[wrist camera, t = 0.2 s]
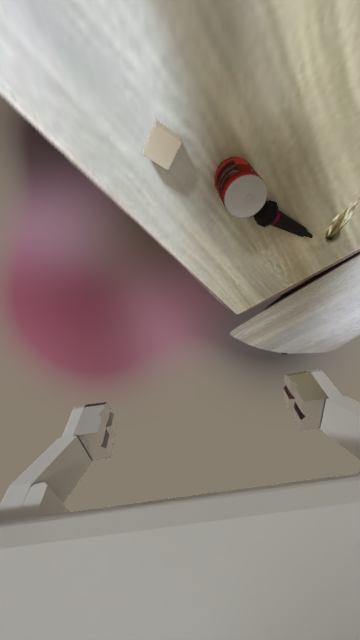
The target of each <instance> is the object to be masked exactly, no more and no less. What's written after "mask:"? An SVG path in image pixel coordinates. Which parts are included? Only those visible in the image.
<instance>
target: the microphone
mask: <svg viewBox="0 0 360 640" xmlns="http://www.w3.org/2000/svg"><path fill="white" fill-rule="evenodd" d="M254 218H255V220H256V221H257V224H258V225H261V226H263V227H265V226H268V225H273V226H275V227H278V228H280V229H283V230H286V231H288V232H291V233H293V234H296V235H298V236H302V237H303V236H306V237H310V238H312V237H313V236H312V235H311V234H310V233H309V232H308V231H307V229H306V228H305V227H303V226H302V225H300V224H299V223H297V222H296V221H294V220H293V219H291V218H289V217H288V216H286V215H285V214H283V213H282V212H280V211H278V206H277V203H276V202H273V201H270V200H269V201H266V202H265V204H264V206H263V207H262V208H261V209H260V210H259V211H258V212H257V213H256V214H254Z"/></svg>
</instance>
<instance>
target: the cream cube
mask: <svg viewBox="0 0 360 640" xmlns="http://www.w3.org/2000/svg"><path fill="white" fill-rule="evenodd" d="M181 144H182V141H181V139H180V136H179V135H178V134H177V133H175V132H174V131H172V130H171V129H170V128H168V127H167V126H165V125H164V124H163V123H161V122H160V121H158V120H157V119H156V118H155V120H154V123H153V125H152V128H151V130H150V132H149V135H148V137H147V140H146V142H145V144H144V147H143V155H144V156H146V157H147V158H149V159H151V160H152V161H154V162H155V163H157V164H158V165H160V166H162V167H163V168H165V169H166V170H169V168H170V166H171V164H172V162H173V160H174V158H175V156H176V154H177V152H178V150H179V148H180V146H181Z"/></svg>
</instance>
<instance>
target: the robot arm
mask: <svg viewBox="0 0 360 640" xmlns="http://www.w3.org/2000/svg"><path fill="white" fill-rule="evenodd" d="M284 382H285V384H286V386H285V387H284V388H283V395H284V400H285V402H286V405H287V407H288V409H289V410H291V411H293V419H294V420H295V422H296V424H297V426H298V428H299V430H309V429H318V428H320V430H322V431H323V432H324V433H326V434H327V435H328V436H329V437H331V438H332V439H333V440H335V441H336V442H337V443H339V444H340V445H341V446H342V447H344V448H345V449H346V450H348V451H349V452H351V453H352V454H353V455H354V456H355V457H357V458H358V459H359V460H360V403H359V402H357V401H355V400H353V399H351V398H349V397H347V396H342V395H341V394H340V393H339V391H338V390H337V389H336V388H335V386H334V385H333V384H332V383H331V381H330V380H329V379H328V378H327V376H326V375H325V374H324V373H323V371H322V370H320V369H317V370H311V371H304V372H298V373H292V374H286V375H285V376H284ZM110 409H111V406H110V404H109V403H108V402H104V403H96V404H88V405H82V406H76V407H75V408H74V409H73V411H72V413H71V416H70V418H69V421H68V423H67V426H66V428H65V431H64V433H63V435H62V438H60V439H57V440H56V441H55V442H54V443H53V444H52V445H51V446H50V447H49V448H48V449H47V450H46V451H45V452H44V453H43V454H42V455H41V456H40V457H39V458H38V459H37V460H36V461H35V462H34V463H33V464H32V465H31V466H30V467H29V468H28V469H27V470H25V472H23V473H22V474H21V475H20V476H19V477H18V478H17V479H16V480H15V481H14V482H13V483H12V484H11V485H10V486H9V488H8V490H7V492H6V494H5V496H4V498H3V500H2V502H1V504H0V640H360V470H359V472H358V473H354V474H347V475H340V476H333V477H325V478H317V479H311V480H303V481H296V482H288V483H280V484H273V485H266V486H258V487H251V488H243V489H236V490H229V491H222V492H214V493H207V494H199V495H192V496H185V497H177V498H170V499H163V500H155V501H149V502H141V503H133V504H126V505H118V506H111V507H104V508H97V509H89V510H82V511H74V512H70V511H69V510H68V509H67V507H66V506H65V505H64V504H63V503H64V502H65V500H66V499H67V497H68V496H69V495H70V493H71V492H72V490H73V489H74V488H75V486H76V485H77V483H78V482H79V480H80V479H81V477H82V476H83V475H84V473H85V472H86V471H87V469H88V468H89V466H90V465H91V463H92V461H95V460H101V459H107V458H111V455H112V449H113V445H114V443H113V441H112V438H113V437H114V436H115V434H116V428H117V422H116V417H115V415H114V414H113V413H112V412H110Z"/></svg>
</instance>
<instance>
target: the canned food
mask: <svg viewBox="0 0 360 640" xmlns="http://www.w3.org/2000/svg"><path fill="white" fill-rule="evenodd" d="M215 186H216V189H217V191H218V193H219V195H220V197H221V199H222V202H223V204H224V206H225V208H226V209H227V211H228V212H229V213H230V214H231V215H232V216H234V217H237V218H247V217H250V216H253V215H254V214H256V213H257V212H258V211H259V210H260V209H261V208H262V207H263V206H264V204H265V202H266V199H267V187H266V184H265V182H264V181H263V180H262V178H261V177H260V176H259V175H258V174H257V173H256V171H255V170H254V169H253V168H252V167H251V166H250V164H249V163H248V162H247V161H246V160H244V159H242V158H237V157H235V158H230V159H227V160H225V161H224V162H223V163H222V164H221V165H220V166H219V167H218V169H217V171H216V174H215Z"/></svg>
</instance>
